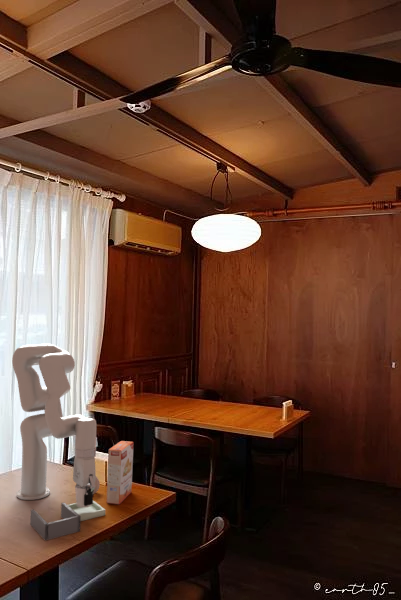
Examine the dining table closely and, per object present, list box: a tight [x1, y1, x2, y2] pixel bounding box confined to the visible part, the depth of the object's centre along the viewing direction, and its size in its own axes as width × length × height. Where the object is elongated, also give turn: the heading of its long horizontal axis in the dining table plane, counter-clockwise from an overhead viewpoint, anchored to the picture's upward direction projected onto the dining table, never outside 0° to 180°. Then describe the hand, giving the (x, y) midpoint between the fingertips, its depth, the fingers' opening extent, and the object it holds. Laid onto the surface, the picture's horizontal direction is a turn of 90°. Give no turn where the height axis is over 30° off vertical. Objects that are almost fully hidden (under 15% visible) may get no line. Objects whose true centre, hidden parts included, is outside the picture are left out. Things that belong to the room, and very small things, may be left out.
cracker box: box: [106, 440, 134, 505], centre depth 196 cm, size 14×6×21 cm, turn 168°
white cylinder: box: [74, 483, 91, 508], centre depth 180 cm, size 7×7×7 cm
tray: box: [67, 500, 106, 522], centre depth 180 cm, size 12×12×2 cm
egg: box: [93, 476, 100, 495], centre depth 199 cm, size 5×5×7 cm
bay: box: [29, 501, 82, 541], centre depth 168 cm, size 14×12×5 cm
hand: (84, 501), depth 180 cm, fingers closed on white cylinder, 6 cm apart
